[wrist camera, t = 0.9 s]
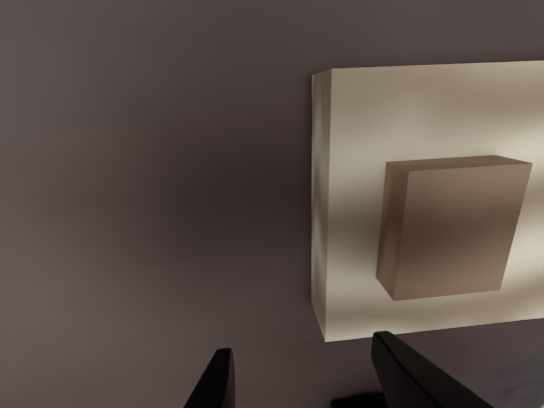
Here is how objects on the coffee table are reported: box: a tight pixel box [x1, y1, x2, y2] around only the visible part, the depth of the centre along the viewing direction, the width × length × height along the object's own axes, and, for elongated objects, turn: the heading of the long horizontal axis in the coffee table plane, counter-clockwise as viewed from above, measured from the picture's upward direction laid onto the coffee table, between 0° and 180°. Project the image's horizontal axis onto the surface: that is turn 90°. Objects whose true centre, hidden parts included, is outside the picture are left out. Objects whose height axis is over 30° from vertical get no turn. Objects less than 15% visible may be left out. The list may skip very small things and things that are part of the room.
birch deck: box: [311, 61, 544, 342], centre depth 19 cm, size 16×16×4 cm
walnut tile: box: [376, 155, 533, 301], centre depth 16 cm, size 7×6×2 cm
